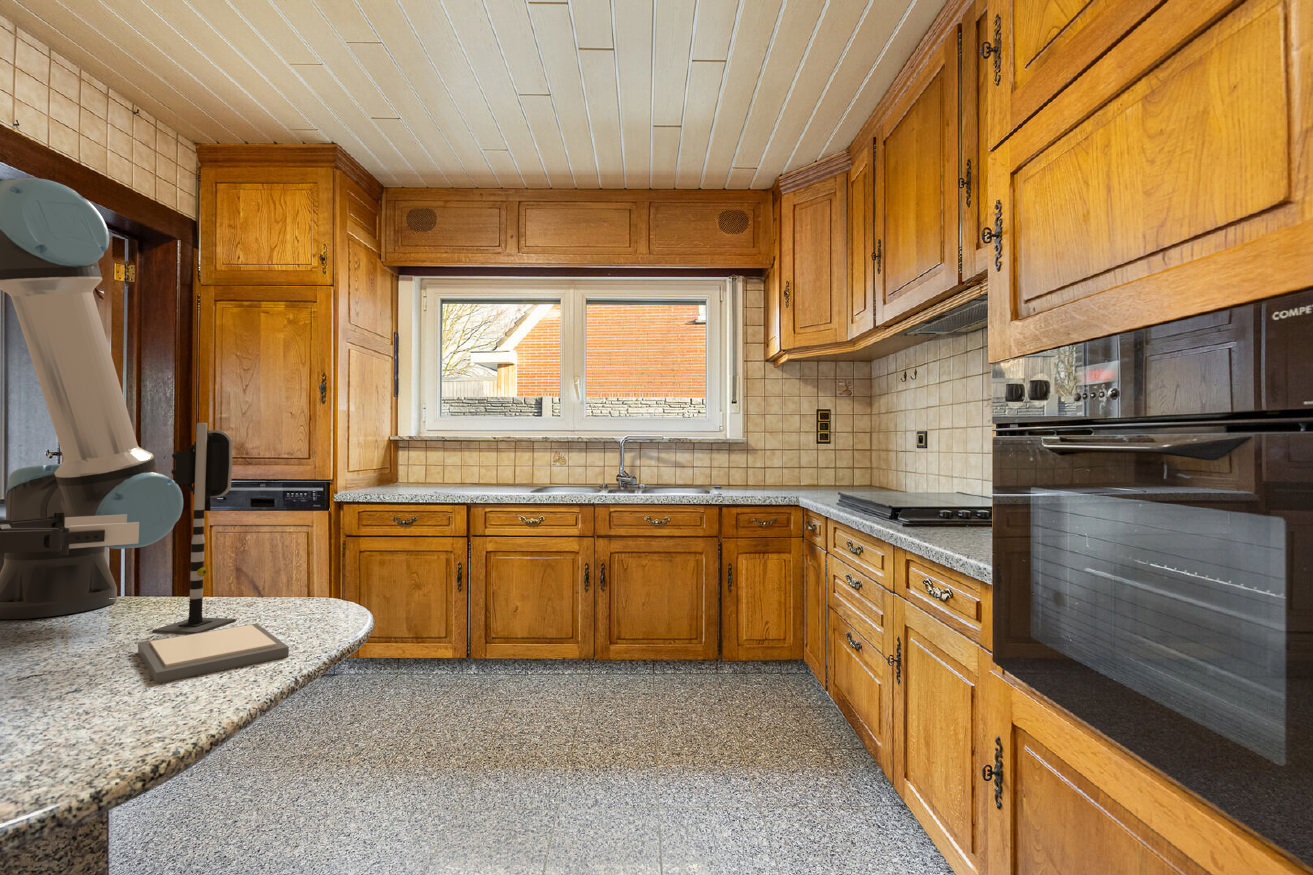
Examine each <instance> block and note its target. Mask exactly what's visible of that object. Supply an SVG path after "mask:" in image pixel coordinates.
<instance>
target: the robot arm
mask: <svg viewBox="0 0 1313 875" xmlns="http://www.w3.org/2000/svg"><path fill="white" fill-rule="evenodd" d="M109 245H110V233H109V229H108V226H107V223H106V222H105V219H104V217H103V216H102V215H101V213H100V212H99V210H98V209H97V208H96V207H95V206H94V204H92V203H91V202H90V201H89V200H88V199H86V197H83V196H82V195H81V194H80V193H78V192H77V191H76V190H74V189H73V188H70V187H69V186H67V185H64V184H62V183H60V182H56V181H55V180H49V179H45V178H36V177H30V178H23V177H22V178H14V177H13V178H12V177H10V178H6V179H5V178H4V179H2V180H0V291H2V292H4V293H6V294H7V295H9V297H10V298H11V301H12V304H13V307H14V310H15V314H16V316H17V320H18V323H19V325H20V329H21V332H22V335H23V337H24V340H25V343H26V346H27V350H28V353H29V356H30V359H31V361H32V362H31V363H32V365H33V368H34V371H35V374H36V376H37V379H38V383H39V386H40V390H41V393H42V396H43V398H44V402H45V404H46V407H47V409H48V410H47V411H48V413H49V416H50V420H51V422H52V426H53V430H54V432H55V434H56V438H57V441H58V443H59V447H60V451H61V453H62V456H63V461H62V463H57V464H43V465H42V464H41V465H40V464H39V465H31V466H25V467H20V468H16V470H13V471H12V472H11V473H10V475H9V477H8V482H7V486H6V490H5V497H6V505H5V508H6V509H5V519H0V554H4V559H3V566H2V568H1V570H0V620H23V619H24V620H25V619H26V620H27V619H35V618H36V619H38V618H46V617H55V616H62V615H63V616H64V615H68V614H76V613H81V612H86V611H90V610H94V609H101V608H102V607H106V606H109V605H112V604H114V603H116V602H117V599H109V598H117V597H118V596H117V595H118V587H117V584H116V582H115V579H114V577H113V574H112V572H111V569H110V567H109V565H108V562H107V559H106V557H105V556H106V554H105V552H106V551H105V550H106V548H109V549H114V550H115V549H116V550H122V549H123V550H124V549H129V548H130V549H131V548H132V549H136V548H143V547H147V546H150V545H152V544H154V543H157V542H158V541H160V540H162V539H163V538H164V537H166V536H167V535H168V534H169V533H171V532H172V530H173V529H174V526H175V525H176V523H177V522H178V521H179V520H180V518H181V516H182V513H183V509H184V497H183V492H182V489H181V487H180V486H179V484H175V480H173V479H171V478H170V477H169V476H167V475H164V474H162V473H159V469H158V467H157V466H158V465H157V464H156V460H155V456H154V454H153V453H151V452H150V451H149V450H148V451H147V450H146V449H143V448H142V447H140V446H139V445H138V442H137V438H136V434H135V432H134V431H135V430H134V428H133V425H132V421H131V418H130V414H129V412H128V407H127V405H126V401H125V398H124V394H123V391H122V387H121V384H120V380H119V377H118V374H117V370H116V367H115V364H114V360H113V357H112V353H111V351H110V346H109V343H108V340H107V336H106V333H105V332H106V331H105V330H104V326H103V323H102V319H101V316H100V312H99V309H98V306H97V302H96V299H95V296H94V290H95V289H96V287H97V286H99V284H100V283H101V282H102V281H103V277H102V273H101V268H100V265H99V260H100V259H101V258H103V257H104V255H105V252H106V251H108V250H109V249H108V248H109Z"/></svg>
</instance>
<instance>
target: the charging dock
mask: <svg viewBox="0 0 1313 875" xmlns="http://www.w3.org/2000/svg"><path fill="white" fill-rule="evenodd" d="M289 652H290V646H288V645H287V644H285V643H284V642H283V641H282V640H280V639H279V638H278V637H276V636H275V635H274V634H272V633H271V632H269V631H268V630H266V629H265V628H264V627H262V626H261V625H260V624H259V623H257V622H256V623H251V624H244V625H239V626H234V627H233V626H232V627H227V628H225V627H224V628H221V629H214V630H213V629H212V630H208V631H206V632H201V633H195V634H183V635H177V636H172V637H171V636H170V637H166V638H159V639H153V640H148V641H142V642H141V641H140V642H137V653H138V655H139V657H140V658H141V660H142V662H143V664H144V666H145V667H146V669H147V671H148V672H149V674H150V676H151V678H152V679H153V681H154V683H155V684H156V685H157V684H162V683H166V682H171V681H176V680H181V679H185V678H190V677H195V676H199V675H205V674H210V673H215V672H220V671H225V670H230V669H235V668H240V667H243V666H244V667H245V666H249V665H253V664H258V663H259V664H260V663H263V662H264V663H265V662H268V661H273V660H277V659H278V660H279V659H282V658H287V657H289Z"/></svg>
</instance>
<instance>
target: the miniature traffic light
mask: <svg viewBox="0 0 1313 875" xmlns="http://www.w3.org/2000/svg"><path fill="white" fill-rule="evenodd" d="M195 439H196V440H195V441H194V442H193V444H190V445H189V446H188V447H187V451H185V450H184V451H183V450H182V451H179V450H178V451H177V450H176V452H173V453H172V455H171V457H172V458H173V459H174V460H175V468H173V469H171V471H170V472H171V474H172V475H173V476H174V477H175V479H174V481H175V484H177V485H183V484H184V485H185V487H186V489H187V490H188V491H189V492H192V495H193V498H194V500H193V523H192V524H193V525H192V526H193V527H192V538H191V546H190V548H191V550H190V551H191V552H190V577H189V578H190V579H189V600H188V601H189V606H188V618H187V619H184V620H180V621H177V622H174V623H171V624H168V625H165V626H164V625H163V626H162V627H158V628H154V629H152V633H154V634H155V633H160V634H179V635H181V634H183V635H189V634H195V633H201V632H207V631H212V630H213V629H214V630H215V629H217V628H221V627H222V626H226V625H229V624H231V623H234V622H236V620H237V619H236V618H228V617H227V618H223V617H222V618H220V617H204V616H203V603H204V602H203V598H204V597H203V596H204V595H203V594H204V576H206V574H207V571H208V570H207V568H206V567H204V566H205V542H206V541H205V540H206V539H205V535H204V534H205V505H206V503H207V499H210V498H212V499H215V498H221V497H223V496H225V495H226V494H227V493H229V491H230V490H231V488H232V477H233V475H232V474H233V439H232V437H231V435H229V433H227V432H225V431H223V430H219V429H213V430H212V429H211V430H210V429H208V423H207V422H197V423H196V437H195Z"/></svg>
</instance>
